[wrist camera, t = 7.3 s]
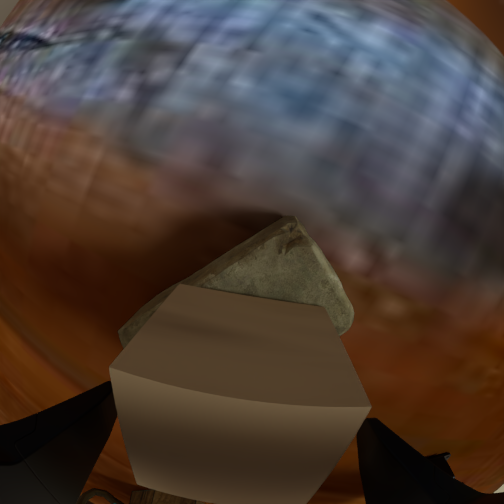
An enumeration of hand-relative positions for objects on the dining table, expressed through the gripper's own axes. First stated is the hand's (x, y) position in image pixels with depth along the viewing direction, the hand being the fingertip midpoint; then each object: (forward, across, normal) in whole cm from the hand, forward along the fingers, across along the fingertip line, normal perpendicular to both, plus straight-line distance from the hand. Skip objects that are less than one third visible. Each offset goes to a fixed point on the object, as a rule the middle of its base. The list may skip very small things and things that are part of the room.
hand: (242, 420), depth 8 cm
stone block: (+9, +1, -1) cm, 9 cm away
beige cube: (+4, 0, 0) cm, 4 cm away
